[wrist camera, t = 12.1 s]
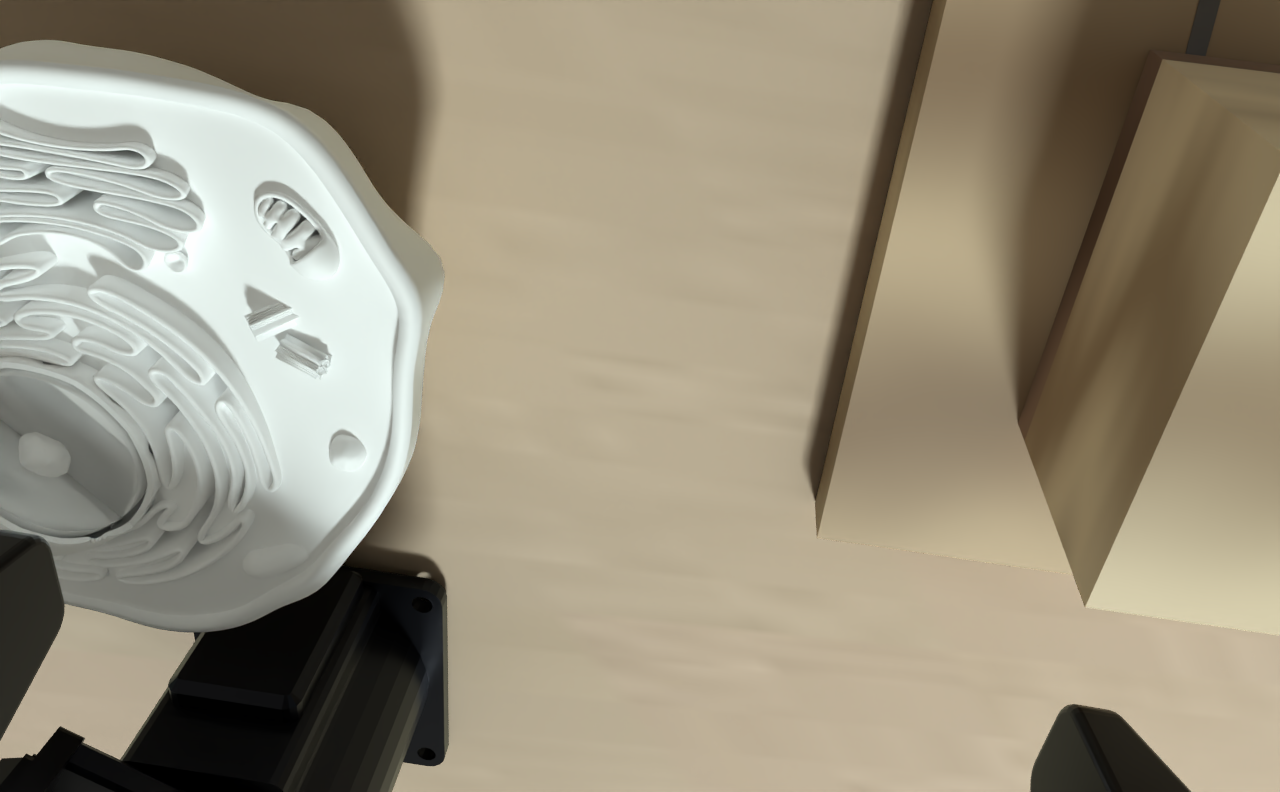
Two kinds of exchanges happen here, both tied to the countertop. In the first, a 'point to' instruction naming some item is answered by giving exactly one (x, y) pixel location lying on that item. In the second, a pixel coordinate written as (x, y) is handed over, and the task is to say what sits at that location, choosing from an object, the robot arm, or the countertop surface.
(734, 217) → the countertop surface
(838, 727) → the countertop surface
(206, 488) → the cell model
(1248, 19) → the board
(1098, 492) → the block
